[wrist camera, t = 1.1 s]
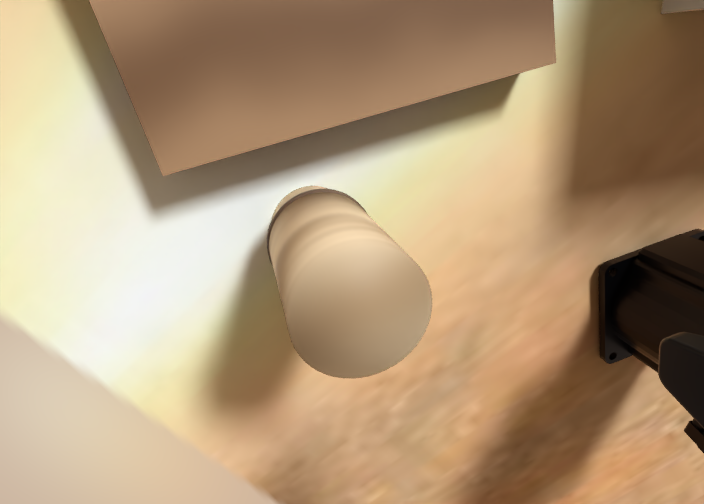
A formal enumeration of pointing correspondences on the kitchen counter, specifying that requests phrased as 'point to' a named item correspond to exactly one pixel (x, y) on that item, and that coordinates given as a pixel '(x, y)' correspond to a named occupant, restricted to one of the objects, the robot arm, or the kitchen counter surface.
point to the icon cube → (681, 6)
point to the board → (304, 63)
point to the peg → (345, 285)
